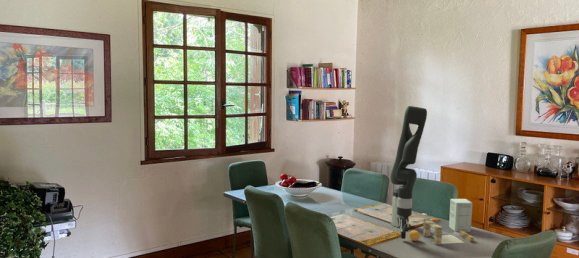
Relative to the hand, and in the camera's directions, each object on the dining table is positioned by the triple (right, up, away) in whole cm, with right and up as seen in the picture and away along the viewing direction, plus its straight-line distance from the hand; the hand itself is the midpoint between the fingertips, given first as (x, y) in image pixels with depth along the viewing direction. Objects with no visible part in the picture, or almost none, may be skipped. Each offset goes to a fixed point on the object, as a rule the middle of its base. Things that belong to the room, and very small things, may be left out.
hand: (402, 238), depth 238 cm
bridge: (+16, -2, +2) cm, 16 cm away
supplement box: (+38, 0, +22) cm, 44 cm away
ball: (+6, +1, 0) cm, 6 cm away
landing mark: (+25, -2, +4) cm, 25 cm away
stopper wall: (+36, -2, +6) cm, 36 cm away
